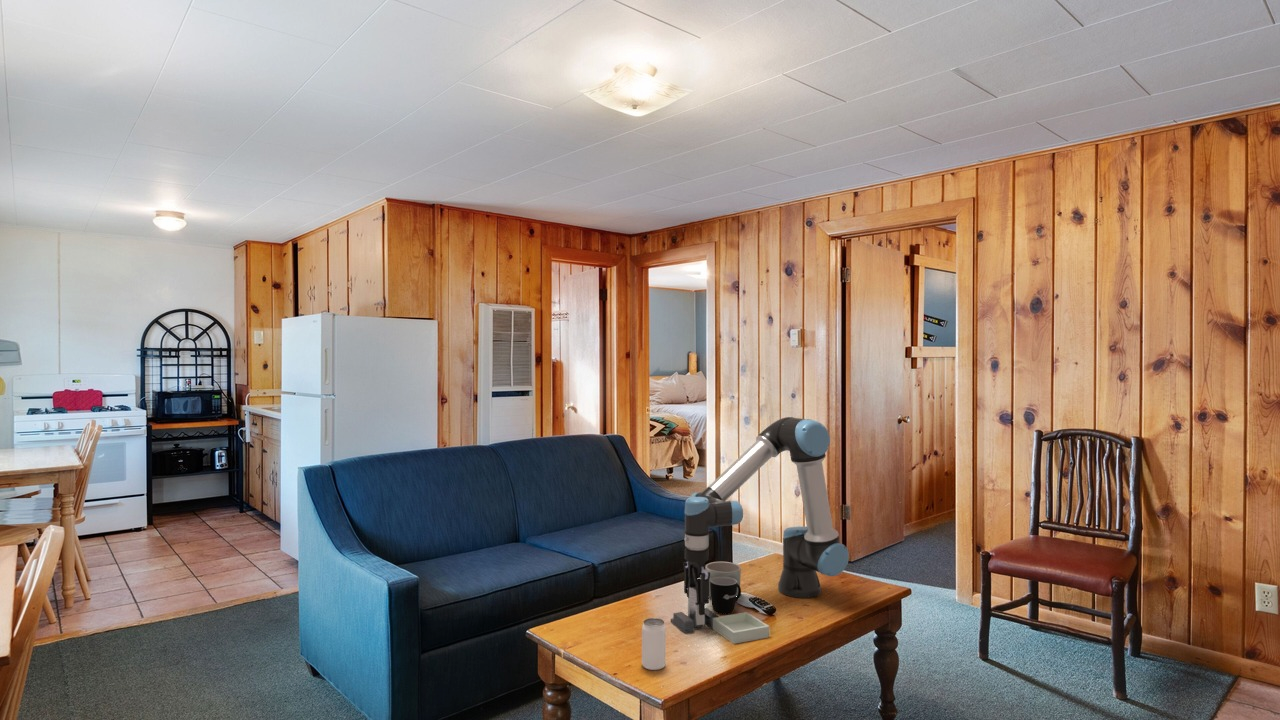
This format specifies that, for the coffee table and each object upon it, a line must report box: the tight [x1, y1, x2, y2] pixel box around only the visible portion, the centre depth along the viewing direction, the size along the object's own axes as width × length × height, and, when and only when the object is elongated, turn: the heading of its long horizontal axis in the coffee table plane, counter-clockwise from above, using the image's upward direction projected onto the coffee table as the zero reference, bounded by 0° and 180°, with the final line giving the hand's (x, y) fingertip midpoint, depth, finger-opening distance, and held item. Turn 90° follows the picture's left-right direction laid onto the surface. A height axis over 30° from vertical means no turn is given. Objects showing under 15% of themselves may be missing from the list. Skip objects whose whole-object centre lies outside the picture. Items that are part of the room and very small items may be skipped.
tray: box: [712, 611, 770, 645], centre depth 210 cm, size 13×13×3 cm
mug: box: [710, 577, 742, 615], centre depth 229 cm, size 12×9×10 cm
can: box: [641, 617, 667, 671], centre depth 188 cm, size 6×6×12 cm
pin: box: [689, 585, 704, 630], centre depth 216 cm, size 5×5×12 cm
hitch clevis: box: [670, 607, 720, 634], centre depth 216 cm, size 12×10×4 cm
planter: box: [705, 561, 742, 599], centre depth 241 cm, size 12×12×11 cm
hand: (696, 621), depth 216 cm, fingers closed on pin, 5 cm apart
